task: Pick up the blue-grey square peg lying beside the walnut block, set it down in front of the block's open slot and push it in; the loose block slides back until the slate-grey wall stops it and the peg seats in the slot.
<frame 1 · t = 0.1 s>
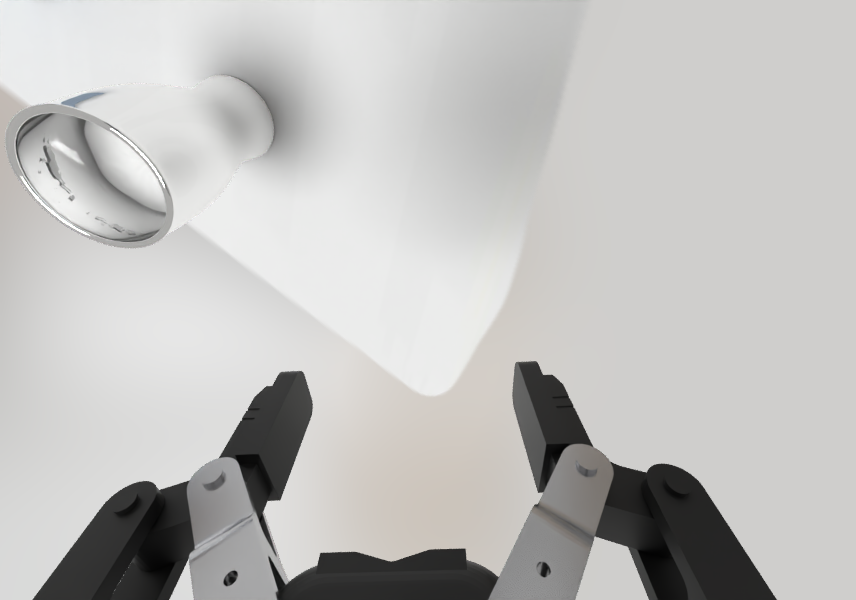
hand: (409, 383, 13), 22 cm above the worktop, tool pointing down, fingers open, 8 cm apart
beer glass: (236, 119, 28), on the worktop
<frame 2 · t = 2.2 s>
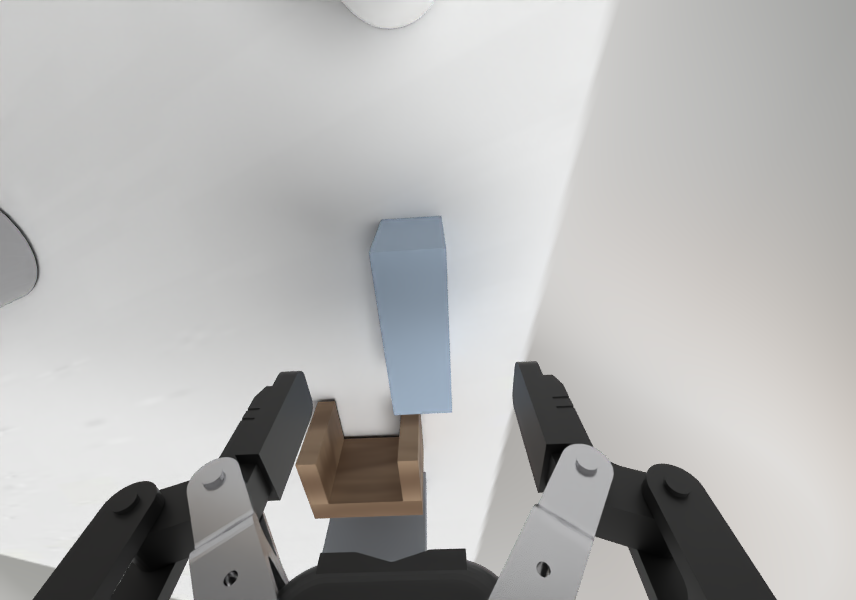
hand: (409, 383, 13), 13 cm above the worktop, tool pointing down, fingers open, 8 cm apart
wall: (383, 479, 37), on the worktop
peg: (418, 295, 26), on the worktop
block: (368, 456, 30), point 3 cm above the worktop, slide at 0.0 cm
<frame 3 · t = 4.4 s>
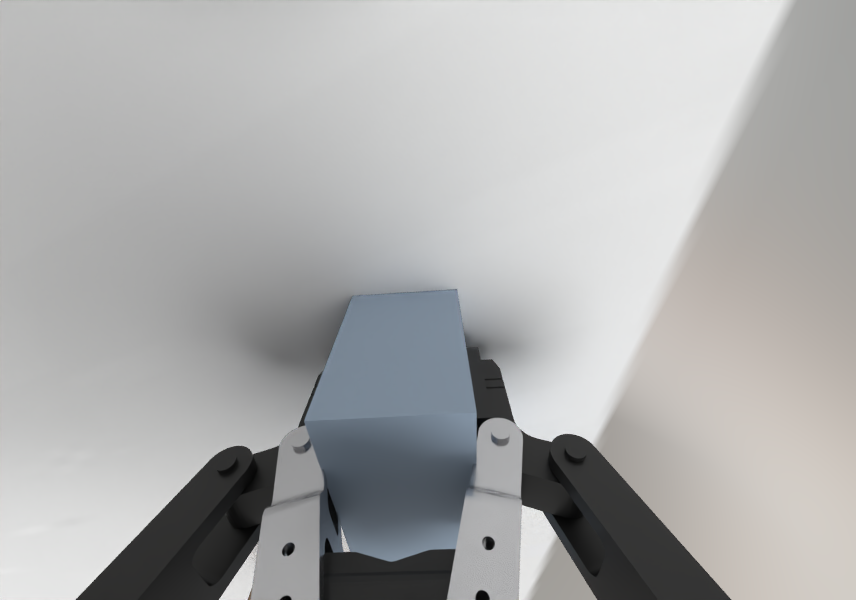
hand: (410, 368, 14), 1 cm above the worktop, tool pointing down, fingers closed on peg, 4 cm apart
peg: (417, 405, 16), on the worktop, touching gripper
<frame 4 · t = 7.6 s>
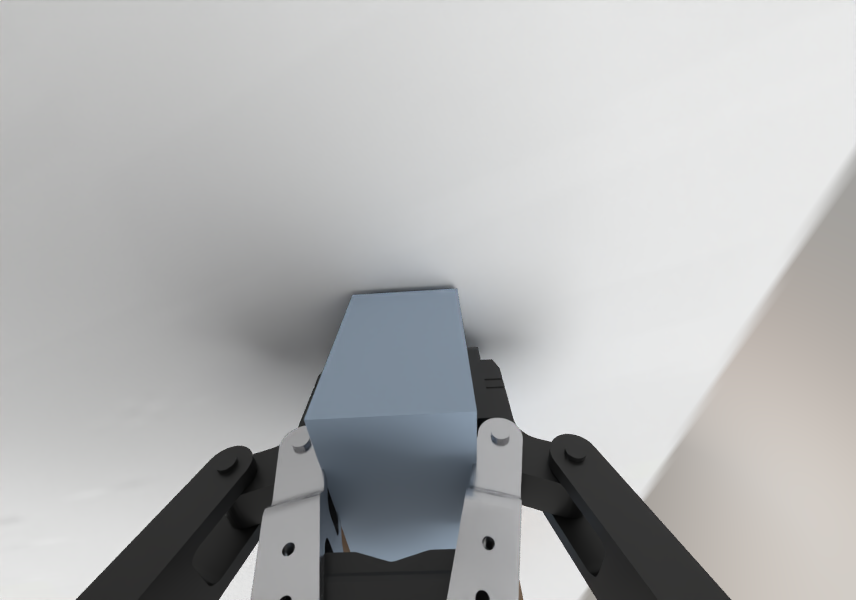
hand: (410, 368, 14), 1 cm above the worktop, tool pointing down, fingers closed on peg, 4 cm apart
peg: (417, 404, 16), on the worktop, touching gripper
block: (426, 588, 19), point 3 cm above the worktop, slide at 0.0 cm
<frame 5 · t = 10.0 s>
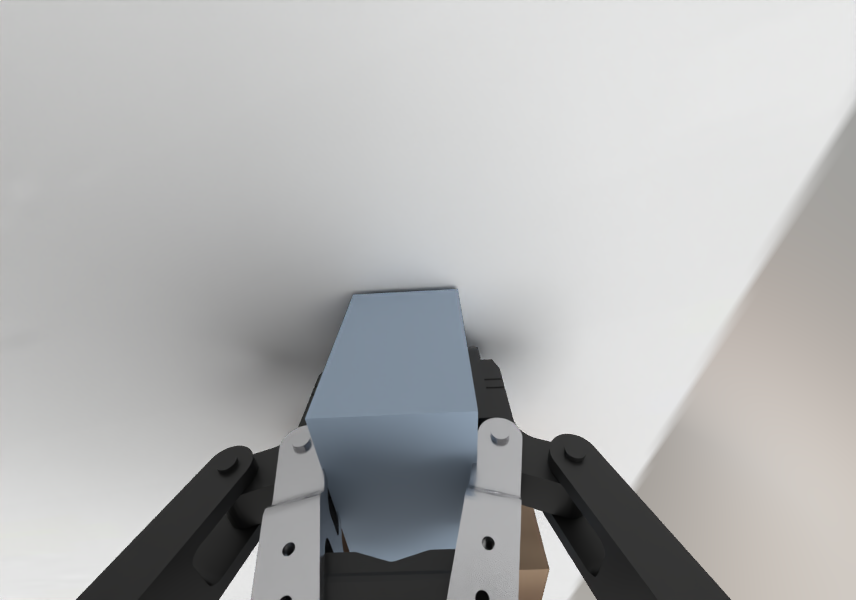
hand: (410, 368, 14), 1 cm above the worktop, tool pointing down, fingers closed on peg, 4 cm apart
peg: (417, 404, 16), on the worktop, touching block, gripper
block: (418, 529, 16), point 3 cm above the worktop, slide at 4.0 cm, touching peg, wall
when the fingers open (1 cm above the worktop, at t = 11.3 s): peg stays where it is, on the worktop.
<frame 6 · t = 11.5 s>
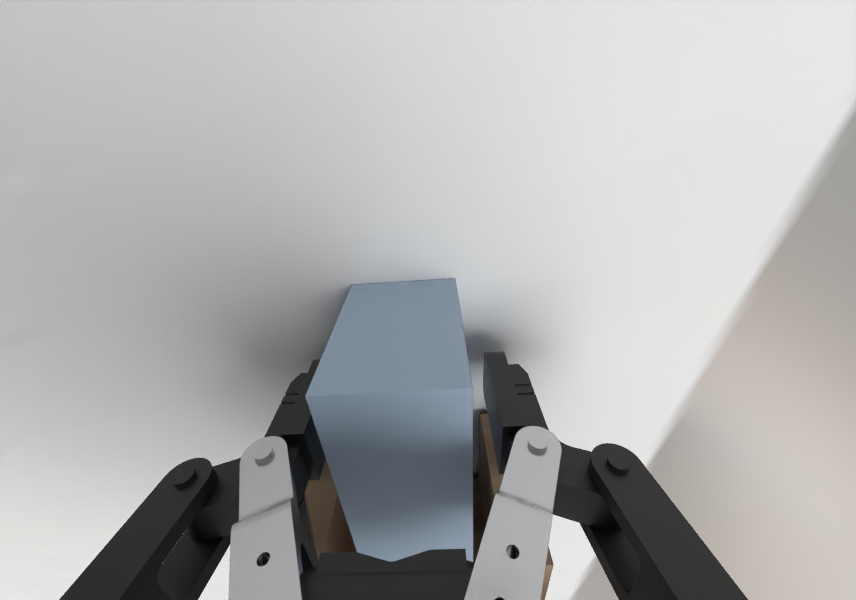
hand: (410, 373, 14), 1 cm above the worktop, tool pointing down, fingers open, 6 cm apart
peg: (416, 392, 16), on the worktop
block: (420, 525, 16), point 3 cm above the worktop, slide at 4.0 cm, touching wall
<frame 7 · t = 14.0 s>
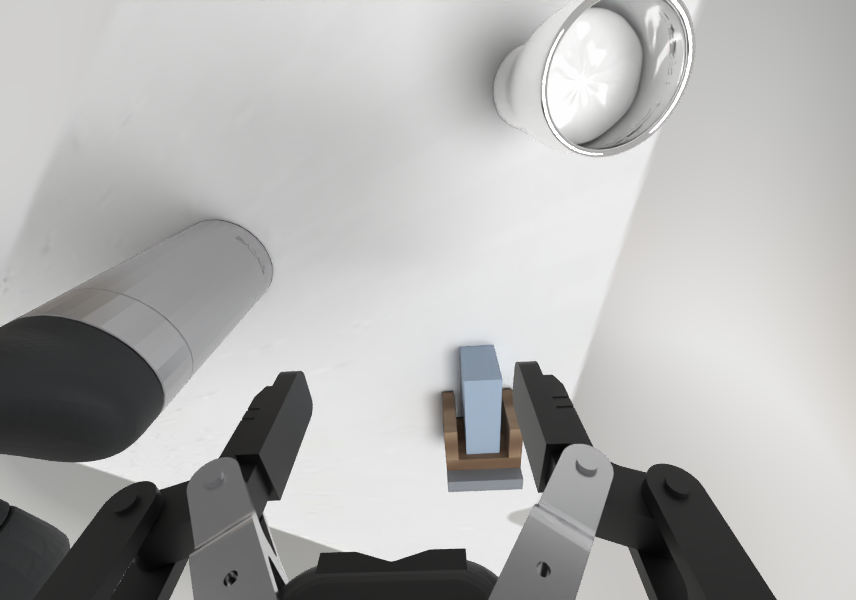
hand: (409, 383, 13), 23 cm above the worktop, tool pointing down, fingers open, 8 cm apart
wall: (477, 430, 49), on the worktop
peg: (476, 382, 44), on the worktop
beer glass: (529, 87, 28), on the worktop
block: (480, 429, 44), point 3 cm above the worktop, slide at 4.0 cm, touching wall
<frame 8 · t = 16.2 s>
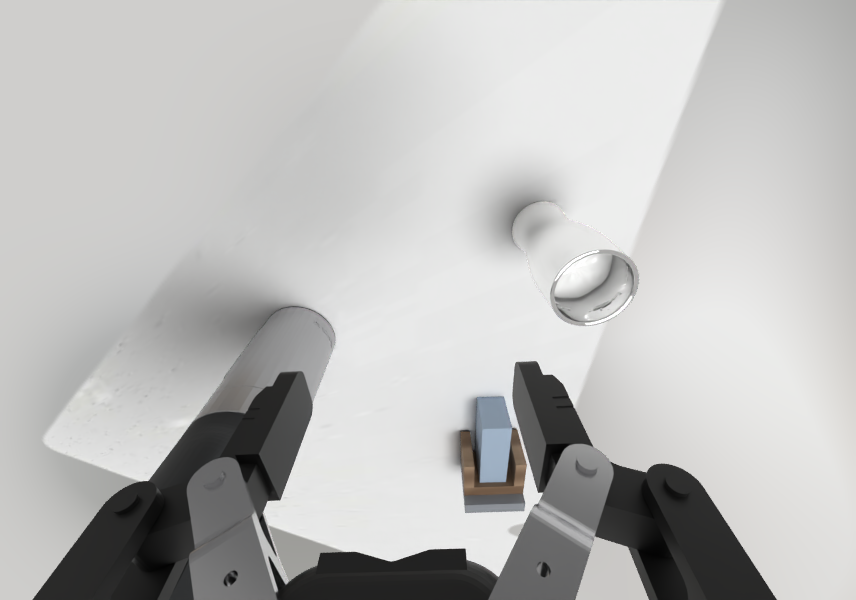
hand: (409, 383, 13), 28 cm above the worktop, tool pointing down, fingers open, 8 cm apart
wall: (486, 460, 60), on the worktop
peg: (488, 423, 55), on the worktop
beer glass: (538, 227, 39), on the worktop
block: (491, 462, 54), point 3 cm above the worktop, slide at 4.0 cm, touching wall
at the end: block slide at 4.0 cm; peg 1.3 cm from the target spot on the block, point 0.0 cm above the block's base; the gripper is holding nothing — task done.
